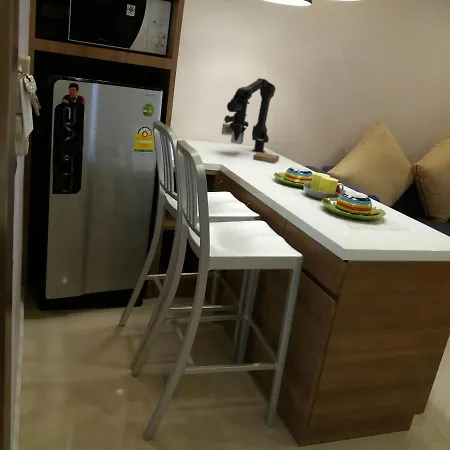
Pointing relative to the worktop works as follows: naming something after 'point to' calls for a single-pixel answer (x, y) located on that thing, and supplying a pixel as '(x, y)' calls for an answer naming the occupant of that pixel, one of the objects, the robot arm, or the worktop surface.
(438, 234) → the worktop surface
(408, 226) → the worktop surface
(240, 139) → the block
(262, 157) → the walnut box
